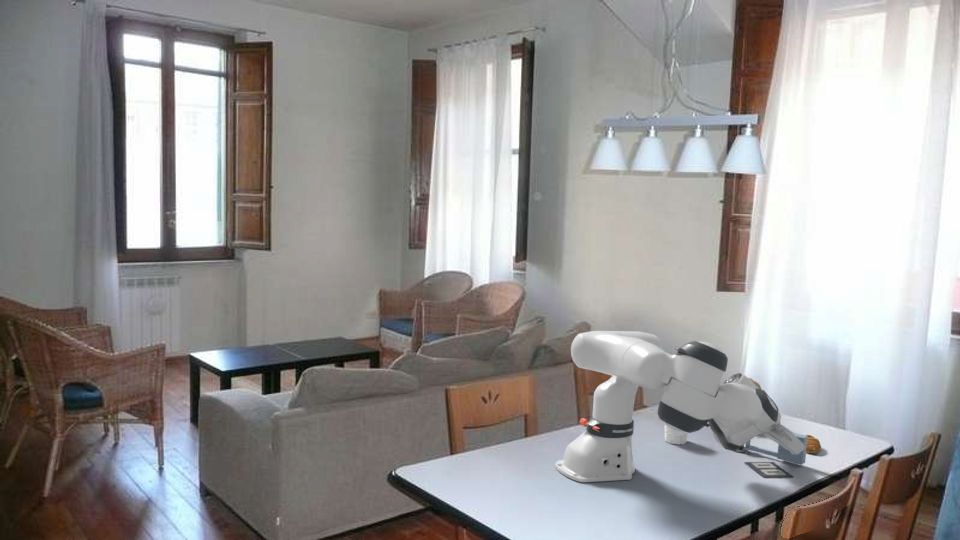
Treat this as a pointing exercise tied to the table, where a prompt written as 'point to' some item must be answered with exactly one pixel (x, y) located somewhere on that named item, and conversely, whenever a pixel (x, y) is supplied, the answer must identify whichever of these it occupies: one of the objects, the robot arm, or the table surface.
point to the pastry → (812, 445)
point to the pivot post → (742, 450)
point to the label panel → (768, 469)
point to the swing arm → (784, 451)
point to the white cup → (674, 436)
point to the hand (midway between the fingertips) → (792, 451)
